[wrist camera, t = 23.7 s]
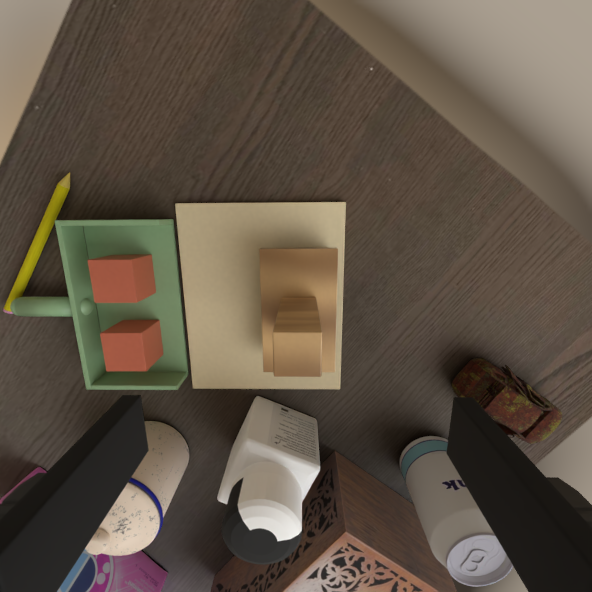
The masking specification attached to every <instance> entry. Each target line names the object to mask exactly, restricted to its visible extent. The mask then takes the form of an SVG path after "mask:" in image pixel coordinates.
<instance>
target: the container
mask: <svg viewBox="0 0 592 592" xmlns="http://www.w3.org/2000/svg"><path fill="white" fill-rule="evenodd" d="M319 471H320V456H319V442H318V428H317V420H316V419H315V418H313V417H310V416H308V415H305V414H303V413H300V412H298V411H295V410H293V409H290V408H288V407H285V406H283V405H280V404H278V403H275V402H273V401H270V400H268V399H265V398H263V397H260V396H256V397H255V399H254V401H253V403H252V405H251V407H250V410H249V412H248V414H247V416H246V418H245V420H244V422H243V425H242V427H241V429H240V431H239V433H238V435H237V438H236V440H235V442H234V444H233V446H232V450H231V453H230V456H229V460H228V463H227V466H226V470H225V473H224V476H223V479H222V483H221V486H220V489H219V493H218V496H217V499H218V501H220V502H222V503H225V504H227V506H226V510H225V514H224V518H223V522H222V526H221V532H222V537H223V540H224V541H225V543H226V545H227V547H228V548H229V550H230V551H231V552H232V553H233V554H234V555H235V556H237V557H238V558H240V559H242V560H244V561H246V562H249V563H253V564H260V565H266V564H273V563H277V562H280V561H282V560H284V559H285V558H287V557H288V556H290V555H291V554H292V553H293V552H294V551H295V549H296V548H297V547H298V545H299V543H300V541H301V537H302V502H303V500H304V498H305V496H306V494H307V493H308V491H309V489H310V487H311V486H312V484H313V482H314V480H315V478H316V477H317V475H318V473H319Z"/></svg>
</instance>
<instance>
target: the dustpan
mask: <svg viewBox="0 0 592 592" xmlns="http://www.w3.org/2000/svg"><path fill="white" fill-rule="evenodd" d="M55 226H56V231H57V236H58V242H59V247H60V252H61V258H62V263H63V268H64V274H65V279H66V284H67V290H68V295H69V297H19V298H16V299H14V300H13V301H12V303H11V305H10V309H11V311H12V312H13V313H14V314H15V315H17V316H73V321H74V327H75V332H76V337H77V343H78V348H79V353H80V359H81V364H82V369H83V375H84V380H85V385H86V389H87V390H178V388H179V387H180V385H181V384H182V383H183V381H184V380H185V379H186V377H187V376H188V374H189V372H188V362H187V351H186V341H185V331H184V321H183V311H182V301H181V291H180V281H179V270H178V260H177V250H176V240H175V230H174V220H173V219H130V220H55ZM83 227H84V231H83ZM84 233H85V237H84ZM85 239H86V243H85ZM86 245H87V249H86ZM87 251H88V254H87ZM131 254H151V255H152V261H153V269H154V278H155V286H156V293H154V294H153V295H151V296H149V297H147V298H145V299H143V300H141V301H139V302H137V303H95V302H94V296H93V290H92V284H91V278H90V272H89V266H88V261H87V260H88V257H89V260H90V259H94V258H99V257H104V256H109V255H131ZM96 305H97V308H96ZM97 311H98V314H97ZM98 317H99V320H98ZM122 320H160V328H161V337H162V345H163V353H164V354H163V355H162V356H161V357H160V358H159V359H158V360H157V361H156V362H155V363H154V364H153V365H152V366H151V367H150V368H149V369H148V370H147V371H108V372H107V371H106V366H105V360H104V354H103V348H102V343H101V337H100V333H101V332H103V331H105V330H106V329H108V328H110V327H112V326H113V325H115V324H117V323H118V322H120V321H122ZM99 323H100V326H99ZM100 329H101V332H100Z"/></svg>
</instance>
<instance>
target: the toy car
mask: <svg viewBox="0 0 592 592" xmlns="http://www.w3.org/2000/svg"><path fill="white" fill-rule="evenodd" d="M505 366H506V365H505ZM502 368H503V370H504V371H505V372H506V373H504V372H503V371H502V370H501V369H499V368H497V367H496V366H494V365H492V364H491V363H489V362H488V361H486V360H485V359H483V358H481V359H480V358H477V359H476V358H475V359H472V360H471V361H470V362H469V363H468V364H467V365H466V366H465V367H464V368H463V369H462V370H461V371H460V372H459V374H458V375H457V376H456V377H455V379H454V380H453V382H452V384H451V385H452V388H453V390H454V392H455V394H456V395H457V396H458V397H473V398H474V399H475V401H476V402H477V403H478V404H479V405H480V406H481V407H482V408H483V409H484V410H485V411H486V413H488V414H489V416H490V417H491V418H493V419H494V421H495V422H496V423H497V425H498V426H499V427H500V428H501V429H502V430H503V431H504V432H505V433H506V434H507V435H513V437H514V436H516V437H518V438H519V439H521V440H523V441H525V442H527V443H530V444H534V443H537V442H540V441H542V440H544V439H545V438H547V437H548V436H549V435H550V434H551V433H552V432H553V431H554V430H555V429H556V428H557V427H558V425H559V424H560V422H561V418H562V412H561V411H560V410H559V409H558V408H557V407H556V406H555V405H553V404H552V403H550V401H548V400H547V399H546V398H544V397H542V396H540V395H539V394H538V393H537V392H536V391H534V390H533V389H532V388H531V387H530V386H529V385H528V384H527V383H525V382H524V381H523V380H521V379H520V378H518V377H517V376H515V375H514V374H513V372H512V371H511V370H510V368H509V367H507V366H506V368H507V369H506V368H504V367H502ZM520 382H521V383H522V384H523V385H522V384H521V383H520ZM525 386H526V387H525ZM509 438H512V437H509Z"/></svg>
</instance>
